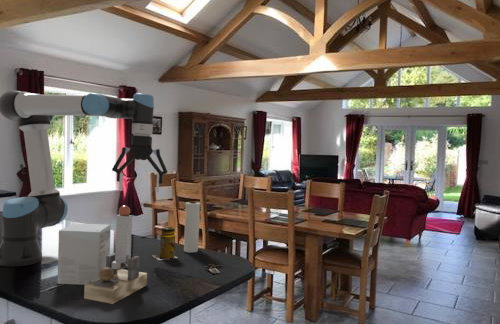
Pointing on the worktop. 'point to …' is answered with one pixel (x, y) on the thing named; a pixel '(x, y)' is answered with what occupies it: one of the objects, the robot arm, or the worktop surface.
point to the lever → (123, 238)
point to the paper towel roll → (191, 227)
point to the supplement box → (82, 252)
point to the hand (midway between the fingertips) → (139, 191)
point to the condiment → (167, 244)
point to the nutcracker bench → (116, 282)
